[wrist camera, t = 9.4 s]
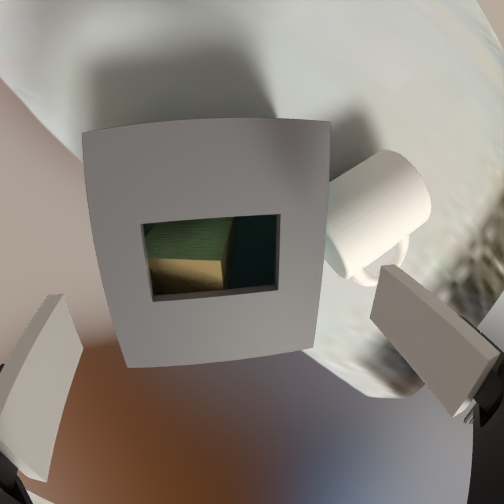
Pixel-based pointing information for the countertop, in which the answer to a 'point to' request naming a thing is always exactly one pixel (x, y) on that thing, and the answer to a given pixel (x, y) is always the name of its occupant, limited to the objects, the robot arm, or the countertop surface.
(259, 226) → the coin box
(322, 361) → the countertop surface
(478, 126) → the countertop surface
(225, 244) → the gold block
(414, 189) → the mug
